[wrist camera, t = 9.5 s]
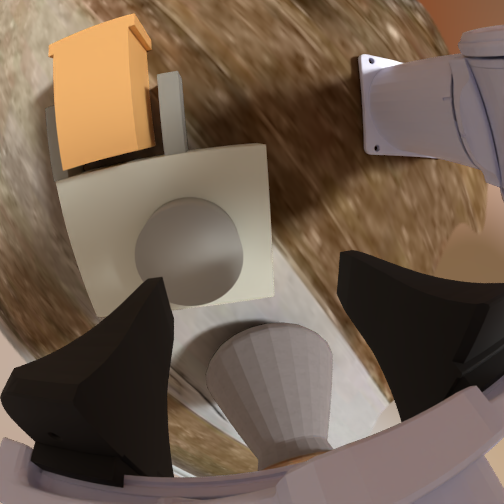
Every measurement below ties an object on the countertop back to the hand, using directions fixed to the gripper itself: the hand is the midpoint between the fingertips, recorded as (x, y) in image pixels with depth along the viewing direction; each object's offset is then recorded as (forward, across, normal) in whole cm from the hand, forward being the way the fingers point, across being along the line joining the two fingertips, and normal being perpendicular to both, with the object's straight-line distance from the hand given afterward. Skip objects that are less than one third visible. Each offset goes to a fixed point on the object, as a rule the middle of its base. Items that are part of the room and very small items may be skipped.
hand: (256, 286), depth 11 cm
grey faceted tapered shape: (+10, -4, +18) cm, 21 cm away
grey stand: (+9, +5, -2) cm, 11 cm away
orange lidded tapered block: (+10, +7, -9) cm, 15 cm away
